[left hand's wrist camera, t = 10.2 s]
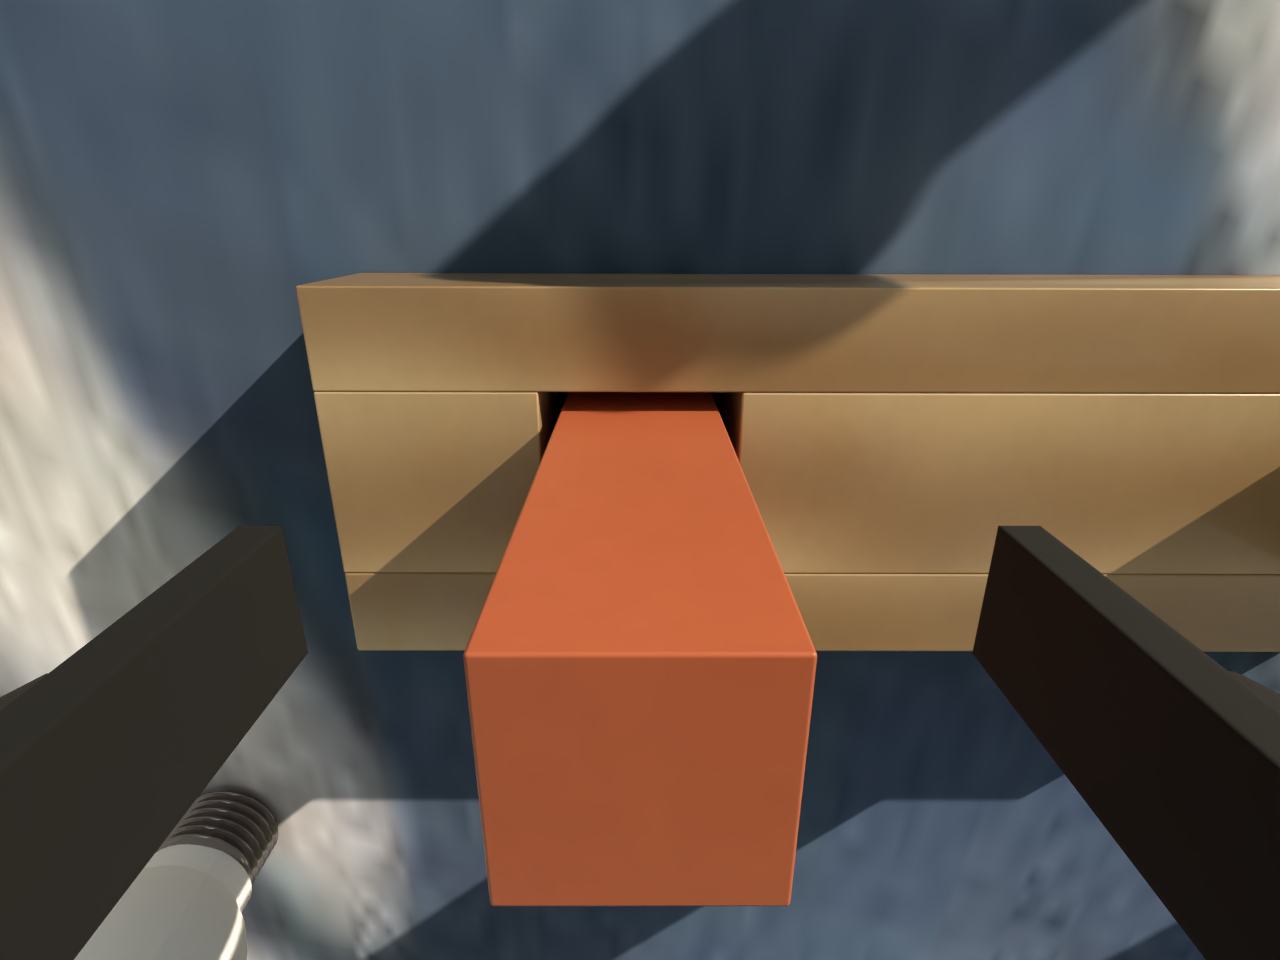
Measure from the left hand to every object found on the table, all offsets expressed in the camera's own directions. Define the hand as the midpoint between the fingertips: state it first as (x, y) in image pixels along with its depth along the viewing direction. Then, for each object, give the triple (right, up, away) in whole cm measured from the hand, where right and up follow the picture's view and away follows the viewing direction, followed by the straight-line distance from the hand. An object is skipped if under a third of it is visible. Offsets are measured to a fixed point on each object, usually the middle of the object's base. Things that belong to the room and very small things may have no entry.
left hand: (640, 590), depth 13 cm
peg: (0, +3, +9) cm, 9 cm away
